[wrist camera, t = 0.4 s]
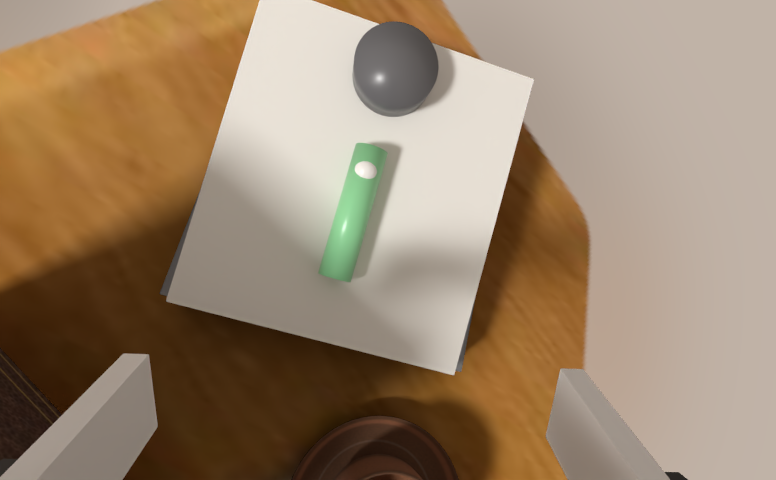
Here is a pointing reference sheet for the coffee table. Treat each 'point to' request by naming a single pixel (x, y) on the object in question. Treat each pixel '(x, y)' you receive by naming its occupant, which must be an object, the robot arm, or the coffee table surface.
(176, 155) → the coffee table surface
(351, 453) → the cup and saucer
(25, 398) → the book
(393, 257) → the level plate
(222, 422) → the coffee table surface
